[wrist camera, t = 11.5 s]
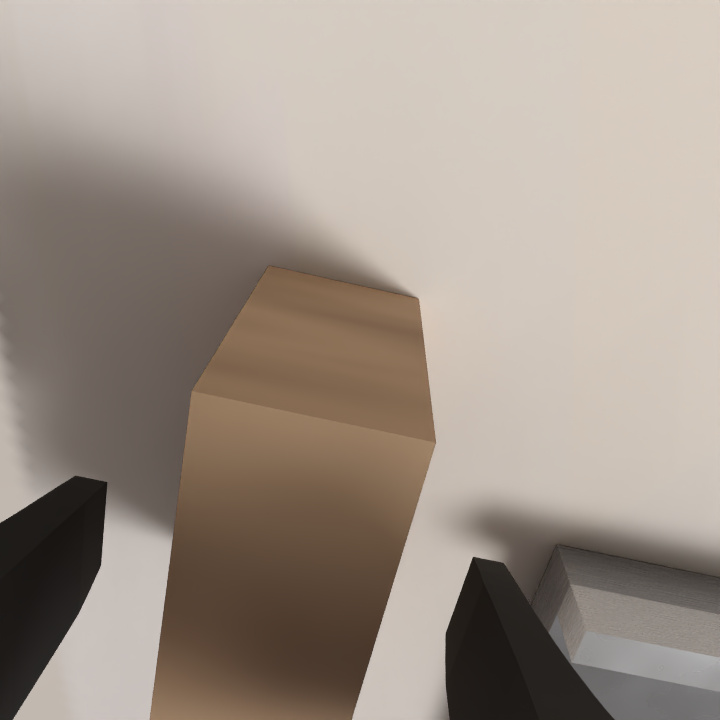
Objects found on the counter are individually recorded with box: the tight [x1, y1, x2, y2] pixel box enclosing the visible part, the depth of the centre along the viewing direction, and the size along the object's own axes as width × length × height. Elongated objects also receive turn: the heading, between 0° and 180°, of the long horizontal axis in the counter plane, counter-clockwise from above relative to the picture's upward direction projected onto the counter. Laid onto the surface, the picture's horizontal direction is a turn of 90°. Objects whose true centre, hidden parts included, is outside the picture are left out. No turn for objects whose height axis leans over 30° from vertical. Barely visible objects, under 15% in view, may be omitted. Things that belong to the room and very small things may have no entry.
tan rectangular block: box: [150, 266, 436, 720], centre depth 14 cm, size 8×4×6 cm, turn 168°
